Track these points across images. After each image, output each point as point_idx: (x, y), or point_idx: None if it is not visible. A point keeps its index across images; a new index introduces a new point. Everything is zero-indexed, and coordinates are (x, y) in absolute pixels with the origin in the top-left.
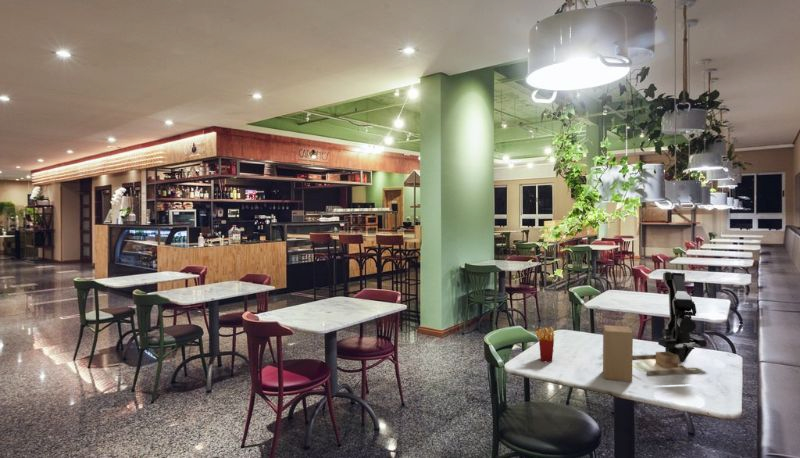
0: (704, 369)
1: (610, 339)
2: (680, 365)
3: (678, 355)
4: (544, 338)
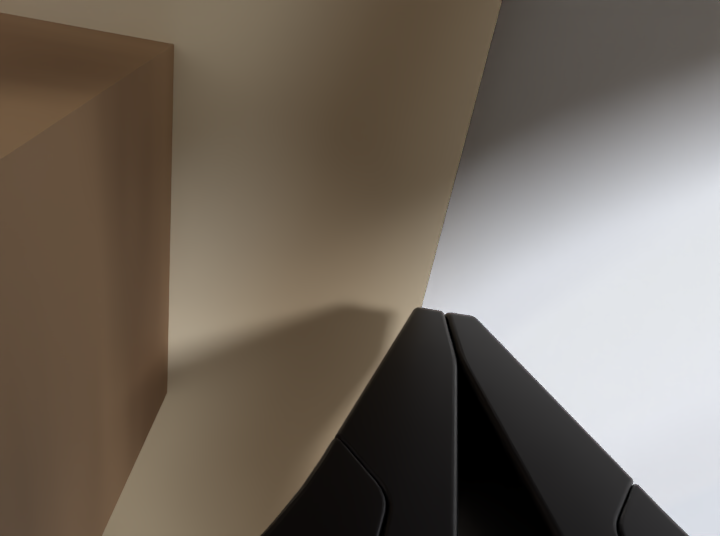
0: (710, 497)
1: None
2: (340, 317)
3: (352, 417)
4: None
